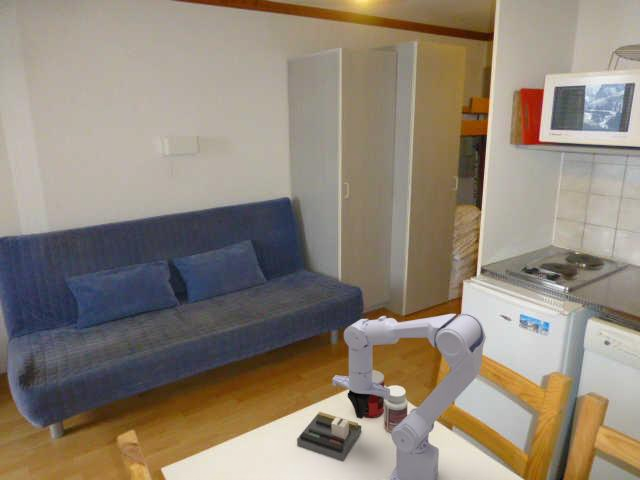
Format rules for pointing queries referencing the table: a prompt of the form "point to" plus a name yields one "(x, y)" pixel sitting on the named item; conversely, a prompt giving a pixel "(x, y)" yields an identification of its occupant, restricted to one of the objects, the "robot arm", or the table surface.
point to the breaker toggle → (340, 428)
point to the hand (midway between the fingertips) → (360, 416)
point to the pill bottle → (395, 407)
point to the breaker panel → (328, 437)
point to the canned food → (375, 398)
